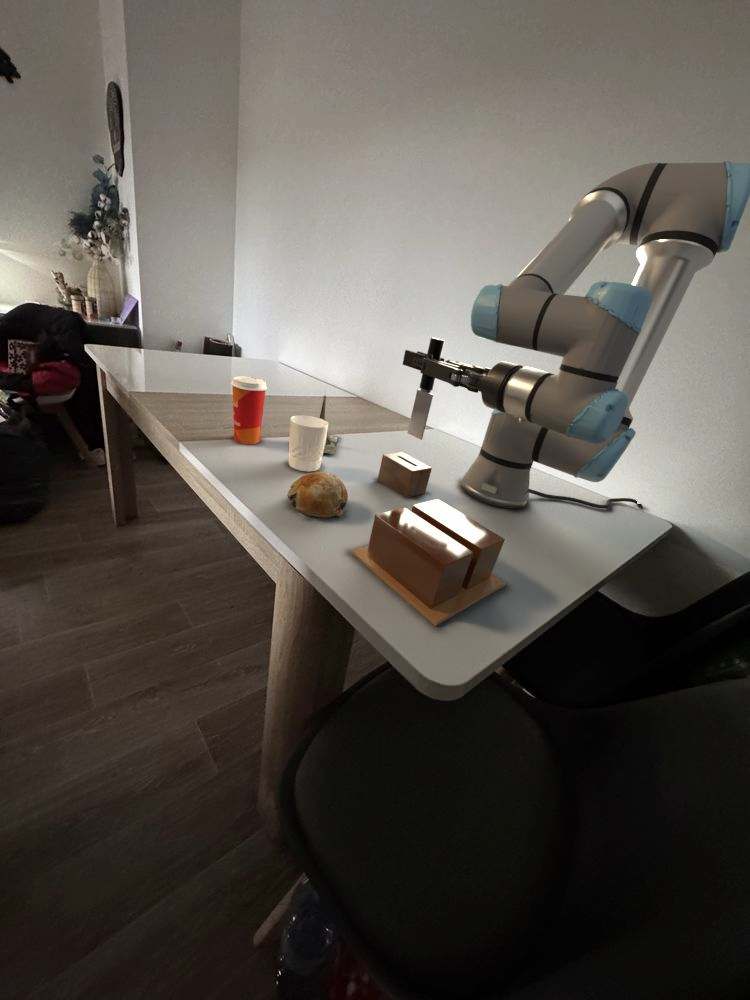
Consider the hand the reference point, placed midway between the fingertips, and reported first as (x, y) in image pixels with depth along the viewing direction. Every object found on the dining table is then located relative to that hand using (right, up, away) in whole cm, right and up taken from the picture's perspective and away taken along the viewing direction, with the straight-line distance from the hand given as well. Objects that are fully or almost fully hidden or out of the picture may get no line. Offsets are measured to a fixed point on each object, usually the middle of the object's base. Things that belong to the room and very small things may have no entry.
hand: (411, 358), depth 76 cm
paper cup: (-37, -14, +16) cm, 43 cm away
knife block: (-1, -25, +9) cm, 26 cm away
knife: (+1, -15, +3) cm, 15 cm away
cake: (+1, -38, -18) cm, 42 cm away
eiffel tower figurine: (-22, -14, +23) cm, 35 cm away
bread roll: (-18, -29, -6) cm, 34 cm away
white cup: (-22, -20, +9) cm, 32 cm away
